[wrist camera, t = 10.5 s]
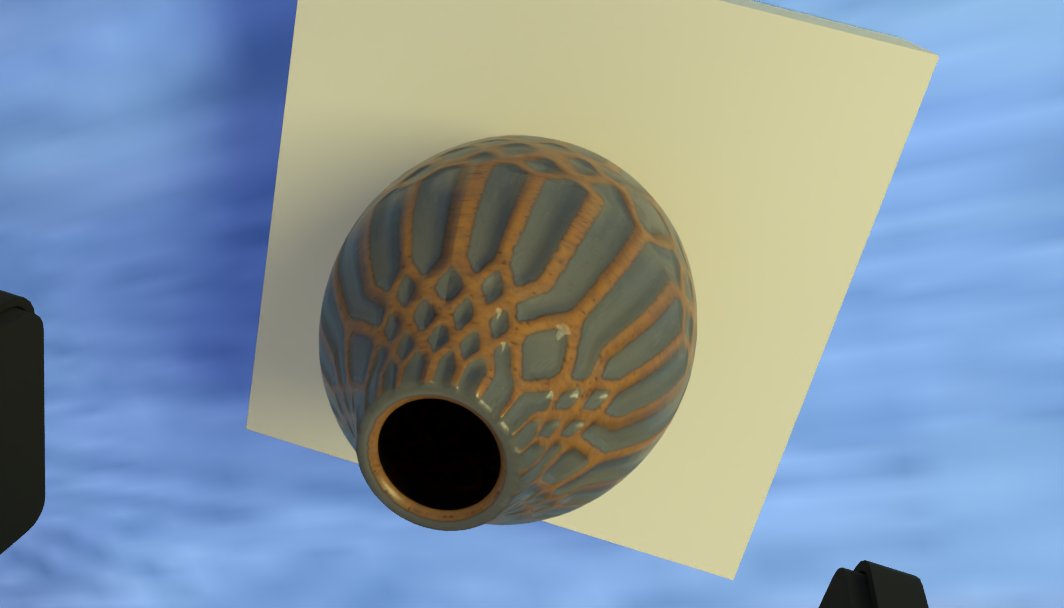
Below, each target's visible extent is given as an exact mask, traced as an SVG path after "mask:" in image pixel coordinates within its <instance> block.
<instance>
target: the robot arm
mask: <svg viewBox="0 0 1064 608" xmlns="http://www.w3.org/2000/svg"><path fill="white" fill-rule="evenodd" d="M44 502H45V429H44V328H43V322H42V320H41V318H40V317H39V316H37V315H36V314H35V313H34V308H33V306H32V304H31V302H30V301H28V300H27V299H26V298H24V297H21V296H17V295H14V294H11V293H8V292H5V291H1V290H0V554H2V553H3V552H4V551H5V550H6V549H7V548H9V547H10V546H11V545H12V544H13V543H14V542H16V541H17V540H18V539H19V538H20V537H21V536H23V535H24V534H25V533H26V532H27V531H28V530H29V529H30V528H31V527H32V526H33V525H34V524H35V522H36V521H37V520H38V518H39V516H40V514H41V512H42V509H43V506H44ZM819 608H929V607H928V604H927V600H926V596H925V593H924V589H923V585H922V583H921V581H920V579H919V578H918V577H916V576H914V575H911V574H908V573H904V572H901V571H898V570H895V569H892V568H888V567H885V566H882V565H879V564H876V563H872V562H869V561H866V560H864V561H861V562H860V563H859V564H858V565H857V566H856V568H855V569H854V571H852V570H849V569H845V568H839V569H838V570H837V571H836V573H835V575H834V576H833V578H832V580H831V582H830V585H829V587H828V589H827V591H826V593H825V595H824V597H823V600H822V602H821V604H820V606H819Z"/></svg>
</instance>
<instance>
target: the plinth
mask: <svg viewBox="0 0 1064 608" xmlns="http://www.w3.org/2000/svg"><path fill="white" fill-rule="evenodd" d="M938 59H939V55H937V54H935V53H932V52H930V51H928V50H926V49H924V48H922V47H919V46H917V45H915V44H913V43H911V42H909V41H906V40H904V39H902V38H899V37H895V36H891V35H887V34H883V33H879V32H875V31H871V30H867V29H863V28H859V27H855V26H851V25H847V24H843V23H839V22H835V21H831V20H827V19H823V18H819V17H815V16H811V15H807V14H803V13H799V12H795V11H791V10H787V9H783V8H779V7H775V6H771V5H767V4H763V3H760V2H756V1H752V0H298V2H297V10H296V19H295V27H294V35H293V43H292V52H291V60H290V68H289V77H288V85H287V93H286V102H285V110H284V118H283V126H282V135H281V143H280V151H279V160H278V168H277V176H276V185H275V193H274V201H273V210H272V218H271V226H270V234H269V243H268V251H267V259H266V268H265V276H264V284H263V293H262V301H261V309H260V317H259V326H258V334H257V342H256V351H255V359H254V367H253V376H252V384H251V392H250V400H249V409H248V417H247V425H246V429H248V430H251V431H255V432H258V433H261V434H264V435H267V436H271V437H274V438H277V439H280V440H284V441H287V442H290V443H293V444H296V445H300V446H303V447H306V448H309V449H313V450H316V451H319V452H322V453H325V454H329V455H332V456H335V457H338V458H342V459H345V460H348V461H351V462H354V463H358V459H357V454H356V451H355V450H354V449H353V447H352V446H351V444H350V443H349V442H348V440H347V438H346V437H345V435H344V434H343V432H342V430H341V428H340V426H339V424H338V422H337V420H336V418H335V416H334V413H333V411H332V408H331V406H330V403H329V400H328V397H327V394H326V391H325V387H324V383H323V379H322V373H321V367H320V358H319V323H320V316H321V309H322V302H323V298H324V293H325V289H326V286H327V283H328V279H329V276H330V273H331V270H332V267H333V265H334V262H335V260H336V258H337V255H338V253H339V251H340V249H341V247H342V245H343V243H344V241H345V239H346V237H347V235H348V234H349V232H350V231H351V229H352V227H353V226H354V224H355V223H356V221H357V220H358V219H359V217H360V216H361V214H362V213H363V212H364V211H365V209H366V208H367V207H368V206H369V204H370V203H371V202H372V201H373V200H374V199H375V198H376V197H377V196H378V195H379V194H380V193H381V192H382V191H383V190H384V189H385V188H387V187H388V186H389V185H390V184H391V183H392V182H393V181H395V180H396V179H397V178H399V177H400V176H401V175H402V174H404V173H405V172H407V171H408V170H410V169H411V168H413V167H414V166H416V165H418V164H419V163H421V162H423V161H424V160H426V159H428V158H430V157H432V156H434V155H436V154H438V153H440V152H442V151H445V150H447V149H450V148H452V147H455V146H458V145H461V144H464V143H467V142H470V141H474V140H479V139H484V138H488V137H496V136H505V135H527V136H538V137H544V138H550V139H556V140H560V141H564V142H568V143H571V144H574V145H577V146H580V147H583V148H585V149H587V150H590V151H592V152H594V153H596V154H598V155H600V156H602V157H604V158H606V159H608V160H609V161H611V162H612V163H614V164H616V165H617V166H619V167H620V168H621V169H623V170H624V171H625V172H627V173H628V174H629V175H631V176H632V177H633V178H634V179H635V180H636V181H637V182H639V183H640V184H641V185H642V186H643V187H644V188H645V189H646V190H647V192H648V193H649V194H650V195H651V196H652V197H653V198H654V199H655V201H656V202H657V203H658V204H659V205H660V207H661V208H662V209H663V211H664V212H665V214H666V215H667V217H668V218H669V220H670V221H671V223H672V225H673V226H674V228H675V230H676V232H677V234H678V236H679V238H680V240H681V242H682V245H683V247H684V250H685V252H686V255H687V258H688V261H689V265H690V268H691V273H692V278H693V282H694V287H695V294H696V302H697V342H696V349H695V356H694V362H693V367H692V371H691V376H690V379H689V382H688V385H687V389H686V391H685V394H684V396H683V398H682V401H681V403H680V405H679V408H678V410H677V412H676V414H675V416H674V418H673V420H672V422H671V423H670V425H669V426H668V428H667V429H666V431H665V433H664V434H663V436H662V437H661V439H660V440H659V441H658V443H657V444H656V445H655V447H654V448H653V449H652V451H651V452H650V453H649V454H648V455H647V456H646V457H645V459H644V460H643V461H642V462H641V463H640V464H639V465H638V466H637V467H636V468H635V469H634V470H633V471H632V472H631V473H630V474H629V475H628V476H627V477H626V478H624V479H623V480H622V481H621V482H620V483H618V484H617V485H616V486H615V487H613V488H612V489H611V490H609V491H608V492H606V493H605V494H603V495H602V496H600V497H599V498H597V499H595V500H593V501H591V502H590V503H588V504H586V505H584V506H582V507H580V508H578V509H576V510H573V511H571V512H569V513H566V514H563V515H560V516H557V517H553V518H549V519H546V520H541V521H545V522H548V523H551V524H554V525H557V526H561V527H564V528H567V529H570V530H574V531H577V532H580V533H583V534H586V535H590V536H593V537H596V538H599V539H603V540H606V541H609V542H612V543H615V544H619V545H622V546H625V547H628V548H632V549H635V550H638V551H641V552H644V553H648V554H651V555H654V556H657V557H661V558H664V559H667V560H670V561H673V562H677V563H680V564H683V565H686V566H690V567H693V568H696V569H699V570H702V571H706V572H709V573H712V574H715V575H719V576H722V577H725V578H728V579H731V580H733V579H734V577H735V574H736V572H737V569H738V567H739V564H740V562H741V559H742V556H743V554H744V551H745V549H746V546H747V544H748V541H749V539H750V536H751V534H752V531H753V528H754V526H755V523H756V521H757V518H758V516H759V513H760V511H761V508H762V506H763V503H764V501H765V498H766V495H767V493H768V490H769V488H770V485H771V483H772V480H773V478H774V475H775V473H776V470H777V468H778V465H779V462H780V460H781V457H782V455H783V452H784V450H785V447H786V445H787V442H788V440H789V437H790V435H791V432H792V429H793V427H794V424H795V422H796V419H797V417H798V414H799V412H800V409H801V407H802V404H803V401H804V399H805V396H806V394H807V391H808V389H809V386H810V384H811V381H812V379H813V376H814V374H815V371H816V368H817V366H818V363H819V361H820V358H821V356H822V353H823V351H824V348H825V346H826V343H827V341H828V338H829V335H830V333H831V330H832V328H833V325H834V323H835V320H836V318H837V315H838V313H839V310H840V307H841V305H842V302H843V300H844V297H845V295H846V292H847V290H848V287H849V285H850V282H851V280H852V277H853V274H854V272H855V269H856V267H857V264H858V262H859V259H860V257H861V254H862V252H863V249H864V247H865V244H866V241H867V239H868V236H869V234H870V231H871V229H872V226H873V224H874V221H875V219H876V216H877V213H878V211H879V208H880V206H881V203H882V201H883V198H884V196H885V193H886V191H887V188H888V186H889V183H890V180H891V178H892V175H893V173H894V170H895V168H896V165H897V163H898V160H899V158H900V155H901V153H902V150H903V147H904V145H905V142H906V140H907V137H908V135H909V132H910V130H911V127H912V125H913V122H914V119H915V117H916V114H917V112H918V109H919V107H920V104H921V102H922V99H923V97H924V94H925V92H926V89H927V86H928V84H929V81H930V79H931V76H932V74H933V71H934V69H935V66H936V64H937V61H938ZM358 464H359V463H358Z"/></svg>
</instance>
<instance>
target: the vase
mask: <svg viewBox="0 0 1064 608" xmlns="http://www.w3.org/2000/svg"><path fill="white" fill-rule="evenodd" d="M696 342H697V302H696V294H695V287H694V282H693V278H692V273H691V268H690V265H689V261H688V258H687V255H686V252H685V250H684V247H683V245H682V242H681V240H680V238H679V236H678V234H677V232H676V230H675V228H674V226H673V225H672V223H671V221H670V220H669V218H668V217H667V215H666V214H665V212H664V211H663V209H662V208H661V207H660V205H659V204H658V203H657V202H656V201H655V199H654V198H653V197H652V196H651V195H650V194H649V193H648V192H647V190H646V189H645V188H644V187H643V186H642V185H641V184H640V183H639V182H637V181H636V180H635V179H634V178H633V177H632V176H631V175H629V174H628V173H627V172H625V171H624V170H623V169H621V168H620V167H619V166H617V165H616V164H614V163H612V162H611V161H609V160H608V159H606V158H604V157H602V156H600V155H598V154H596V153H594V152H592V151H590V150H587V149H585V148H583V147H580V146H577V145H574V144H571V143H568V142H564V141H560V140H556V139H550V138H544V137H538V136H527V135H505V136H496V137H488V138H484V139H479V140H474V141H470V142H467V143H464V144H461V145H458V146H455V147H452V148H450V149H447V150H445V151H442V152H440V153H438V154H436V155H434V156H432V157H430V158H428V159H426V160H424V161H423V162H421V163H419V164H418V165H416V166H414V167H413V168H411V169H410V170H408V171H407V172H405V173H404V174H402V175H401V176H400V177H399V178H397V179H396V180H395V181H393V182H392V183H391V184H390V185H389V186H388V187H387V188H385V189H384V190H383V191H382V192H381V193H380V194H379V195H378V196H377V197H376V198H375V199H374V200H373V201H372V202H371V203H370V204H369V206H368V207H367V208H366V209H365V211H364V212H363V213H362V214H361V216H360V217H359V219H358V220H357V221H356V223H355V224H354V226H353V227H352V229H351V231H350V232H349V234H348V235H347V237H346V239H345V241H344V243H343V245H342V247H341V249H340V251H339V253H338V255H337V258H336V260H335V262H334V265H333V267H332V270H331V273H330V276H329V279H328V283H327V286H326V289H325V293H324V298H323V302H322V309H321V316H320V323H319V358H320V367H321V373H322V379H323V383H324V387H325V391H326V394H327V397H328V400H329V403H330V406H331V408H332V411H333V413H334V416H335V418H336V420H337V422H338V424H339V426H340V428H341V430H342V432H343V434H344V435H345V437H346V438H347V440H348V442H349V443H350V444H351V446H352V447H353V449H354V450H355V451H356V454H357V459H358V463H359V466H360V469H361V472H362V474H363V476H364V478H365V480H366V482H367V484H368V485H369V487H370V489H371V490H372V491H373V493H374V494H375V495H376V496H377V498H378V499H379V500H380V501H381V502H382V503H383V504H384V505H386V506H387V507H388V508H389V509H390V510H392V511H393V512H394V513H396V514H397V515H399V516H400V517H402V518H404V519H406V520H408V521H410V522H412V523H414V524H417V525H420V526H423V527H426V528H430V529H435V530H443V531H458V530H466V529H470V528H474V527H477V526H480V525H483V524H492V525H513V524H524V523H531V522H536V521H541V520H546V519H549V518H553V517H557V516H560V515H563V514H566V513H569V512H571V511H573V510H576V509H578V508H580V507H582V506H584V505H586V504H588V503H590V502H591V501H593V500H595V499H597V498H599V497H600V496H602V495H603V494H605V493H606V492H608V491H609V490H611V489H612V488H613V487H615V486H616V485H617V484H618V483H620V482H621V481H622V480H623V479H624V478H626V477H627V476H628V475H629V474H630V473H631V472H632V471H633V470H634V469H635V468H636V467H637V466H638V465H639V464H640V463H641V462H642V461H643V460H644V459H645V457H646V456H647V455H648V454H649V453H650V452H651V451H652V449H653V448H654V447H655V445H656V444H657V443H658V441H659V440H660V439H661V437H662V436H663V434H664V433H665V431H666V429H667V428H668V426H669V425H670V423H671V422H672V420H673V418H674V416H675V414H676V412H677V410H678V408H679V405H680V403H681V401H682V398H683V396H684V394H685V391H686V389H687V385H688V382H689V379H690V376H691V371H692V367H693V362H694V356H695V349H696Z"/></svg>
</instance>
